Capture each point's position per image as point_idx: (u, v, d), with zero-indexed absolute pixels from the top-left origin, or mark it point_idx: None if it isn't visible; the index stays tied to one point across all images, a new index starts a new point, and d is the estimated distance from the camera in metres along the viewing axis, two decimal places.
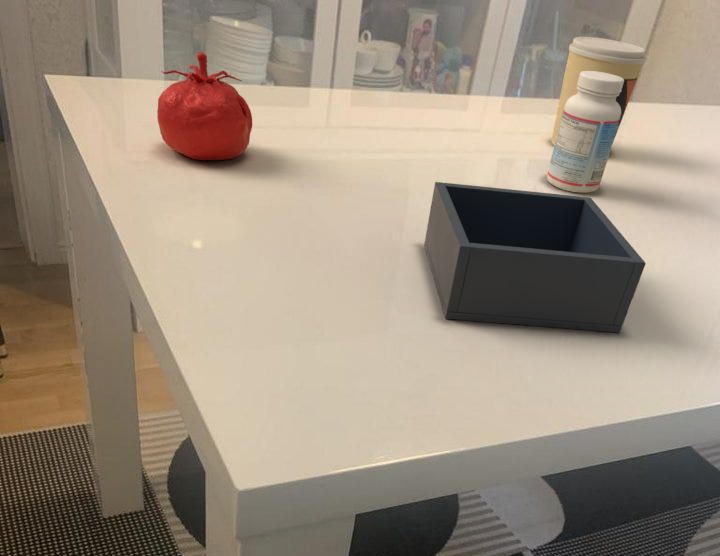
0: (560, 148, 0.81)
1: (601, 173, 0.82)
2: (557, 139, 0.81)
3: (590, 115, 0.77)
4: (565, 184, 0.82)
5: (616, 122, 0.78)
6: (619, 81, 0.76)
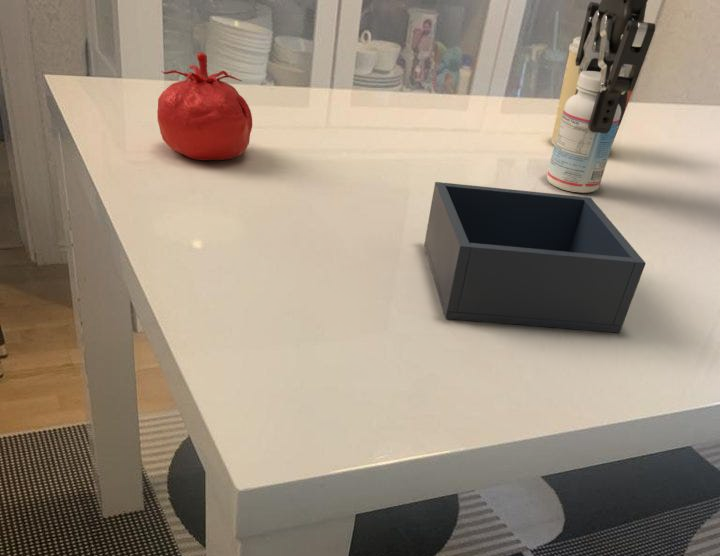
0: (560, 148, 0.81)
1: (601, 173, 0.82)
2: (557, 139, 0.81)
3: (590, 115, 0.77)
4: (565, 184, 0.82)
5: (616, 122, 0.78)
6: None
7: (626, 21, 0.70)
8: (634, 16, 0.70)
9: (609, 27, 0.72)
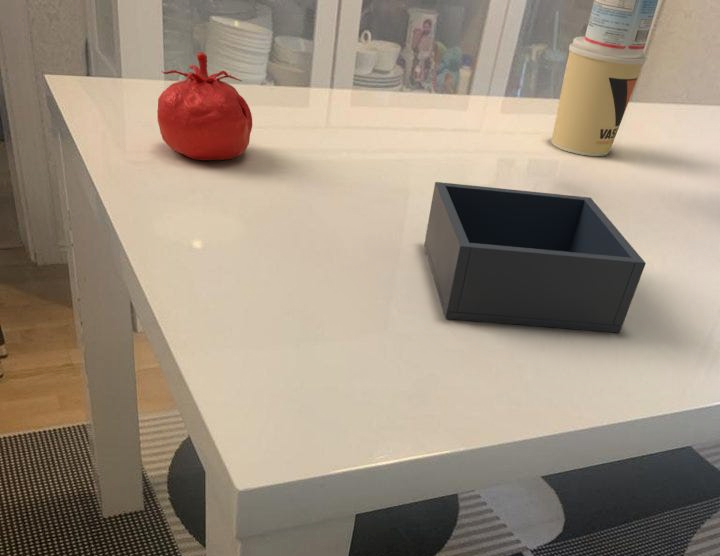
0: (600, 4, 0.72)
1: (646, 34, 0.73)
2: None
3: None
4: (606, 47, 0.73)
5: None
6: None
7: None
8: None
9: None
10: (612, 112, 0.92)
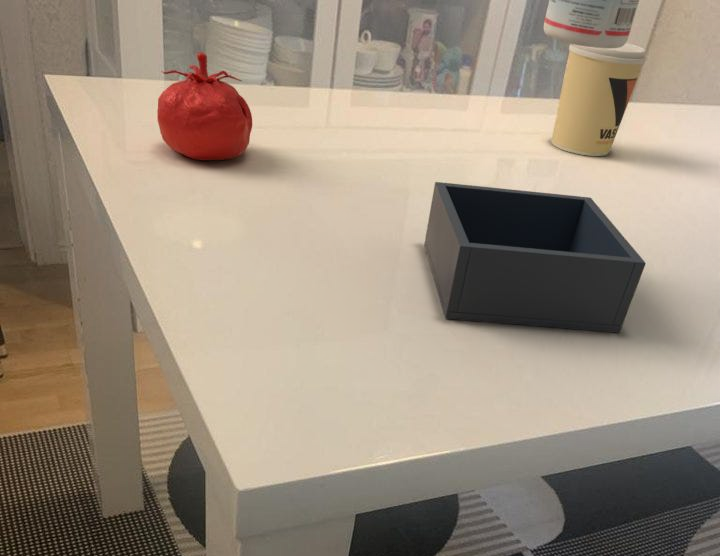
0: None
1: (631, 15, 0.51)
2: None
3: None
4: (573, 32, 0.51)
5: None
6: None
7: None
8: None
9: None
10: (612, 112, 0.92)
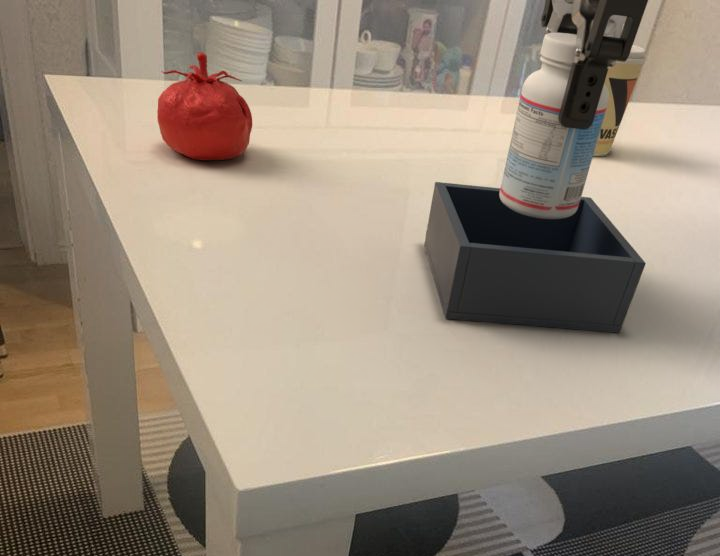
0: (516, 152, 0.53)
1: (580, 190, 0.54)
2: (512, 139, 0.53)
3: (560, 101, 0.49)
4: (526, 207, 0.54)
5: (601, 112, 0.50)
6: None
7: None
8: None
9: None
10: (612, 112, 0.92)
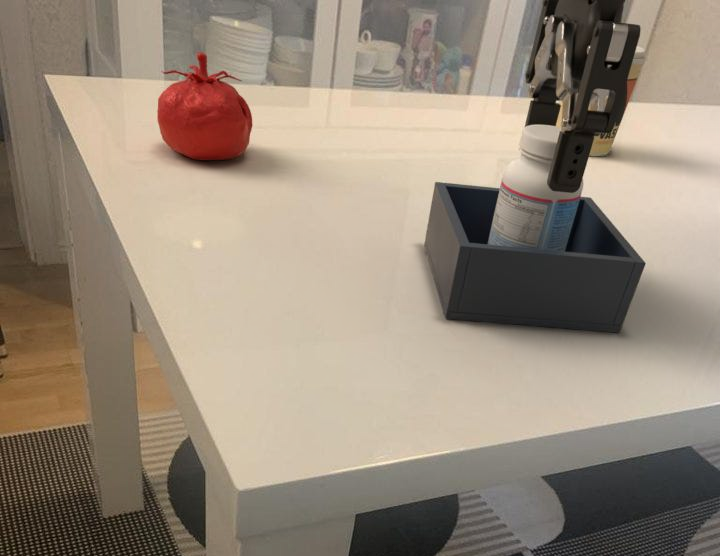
0: (497, 232, 0.57)
1: None
2: (494, 219, 0.57)
3: (537, 191, 0.53)
4: None
5: (576, 199, 0.54)
6: None
7: (592, 32, 0.45)
8: None
9: (568, 41, 0.47)
10: None
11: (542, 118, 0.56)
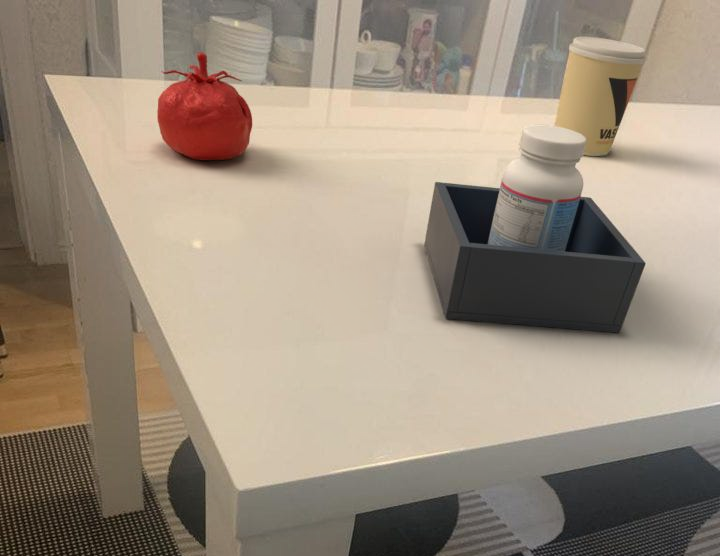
0: (497, 232, 0.57)
1: None
2: (494, 219, 0.57)
3: (537, 191, 0.53)
4: None
5: (576, 199, 0.54)
6: (579, 142, 0.52)
7: None
8: None
9: None
10: (612, 112, 0.92)
11: None
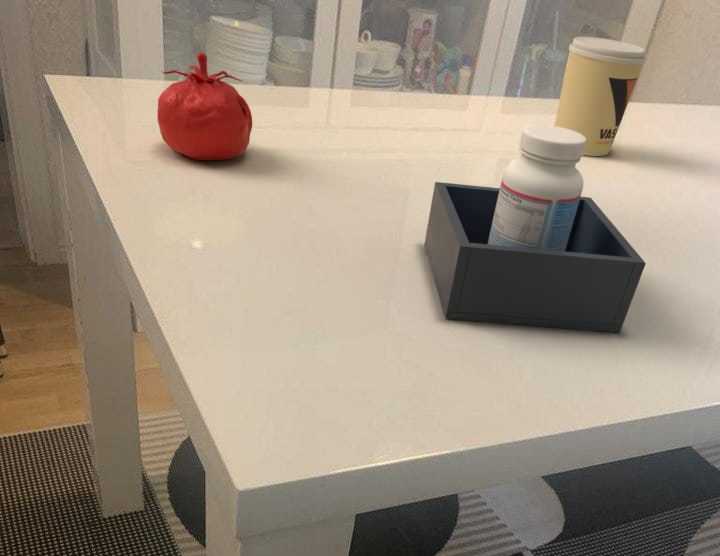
0: (497, 232, 0.57)
1: None
2: (494, 219, 0.57)
3: (537, 191, 0.53)
4: None
5: (576, 199, 0.54)
6: (579, 142, 0.52)
7: None
8: None
9: None
10: (612, 112, 0.92)
11: None
